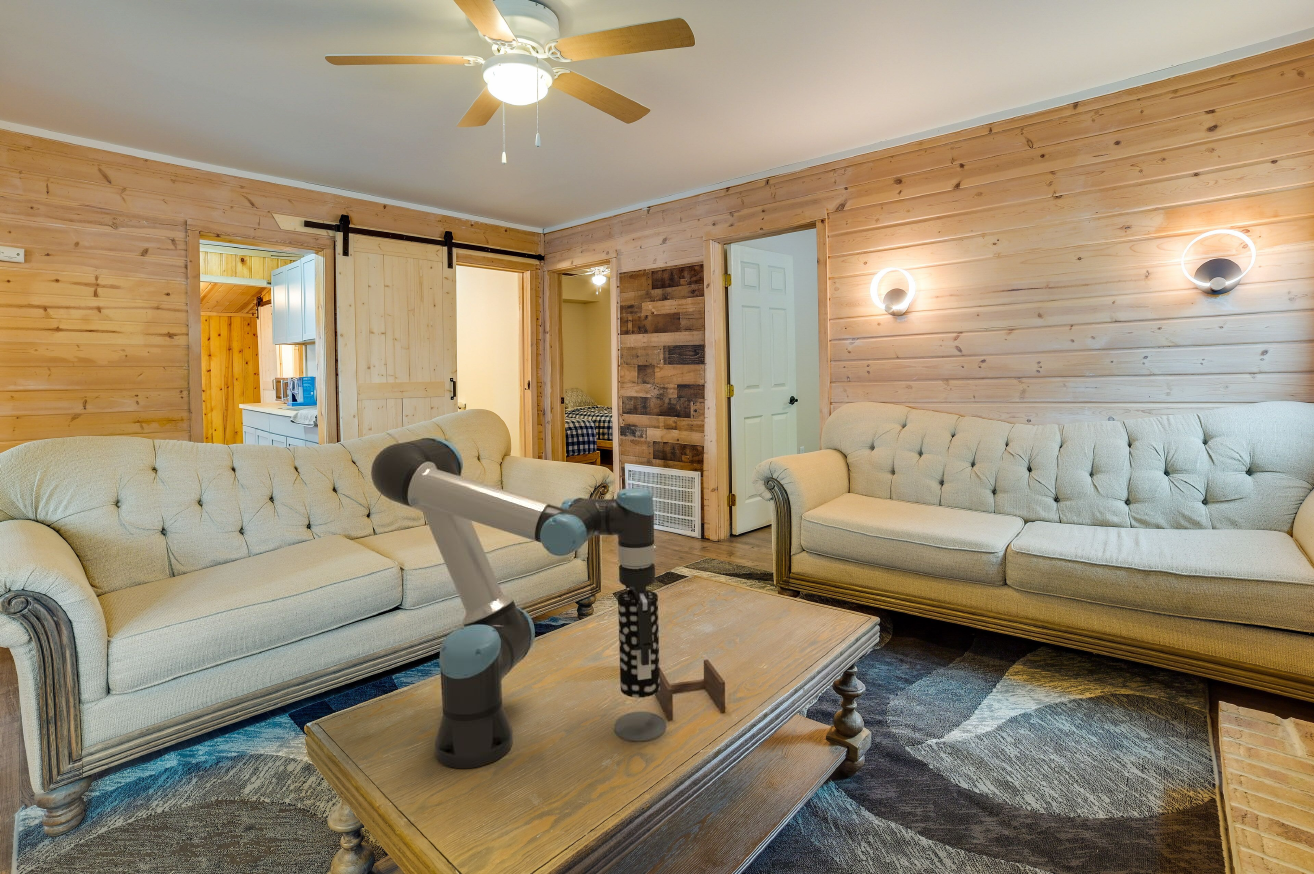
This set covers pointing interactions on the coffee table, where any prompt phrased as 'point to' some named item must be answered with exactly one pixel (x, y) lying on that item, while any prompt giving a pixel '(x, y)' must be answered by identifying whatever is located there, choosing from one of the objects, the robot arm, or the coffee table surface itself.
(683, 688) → the rack
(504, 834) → the coffee table surface
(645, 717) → the coaster
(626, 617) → the spotted tube
